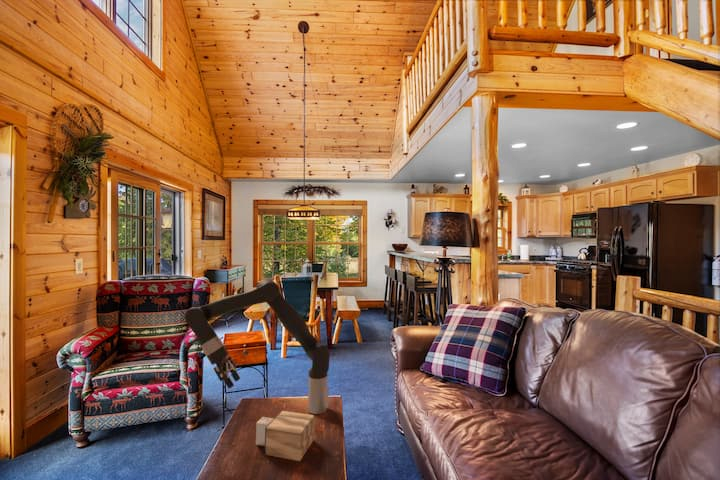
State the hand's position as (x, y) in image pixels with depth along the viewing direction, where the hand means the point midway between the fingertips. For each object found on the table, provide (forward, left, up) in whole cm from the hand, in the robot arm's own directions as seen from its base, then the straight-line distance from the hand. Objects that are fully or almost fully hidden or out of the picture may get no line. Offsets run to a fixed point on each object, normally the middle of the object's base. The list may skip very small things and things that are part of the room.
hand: (234, 383), depth 139 cm
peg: (-9, +13, -25) cm, 30 cm away
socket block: (-12, +21, -25) cm, 34 cm away
